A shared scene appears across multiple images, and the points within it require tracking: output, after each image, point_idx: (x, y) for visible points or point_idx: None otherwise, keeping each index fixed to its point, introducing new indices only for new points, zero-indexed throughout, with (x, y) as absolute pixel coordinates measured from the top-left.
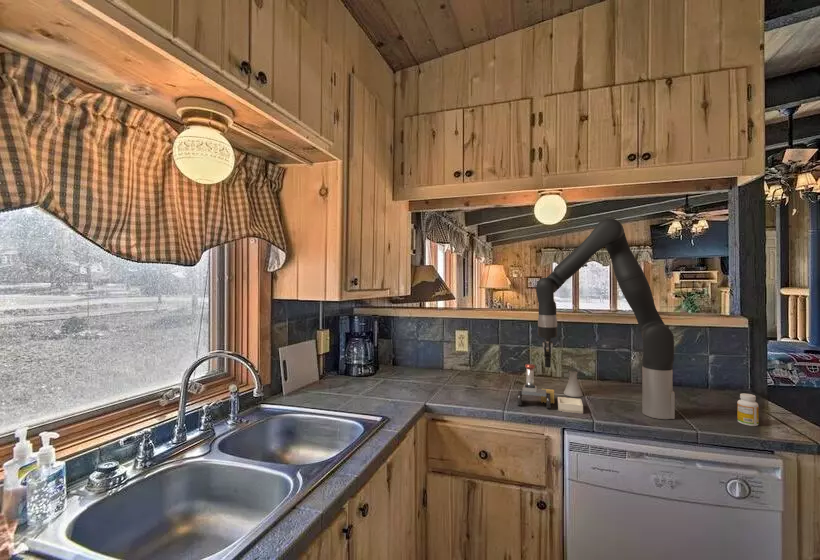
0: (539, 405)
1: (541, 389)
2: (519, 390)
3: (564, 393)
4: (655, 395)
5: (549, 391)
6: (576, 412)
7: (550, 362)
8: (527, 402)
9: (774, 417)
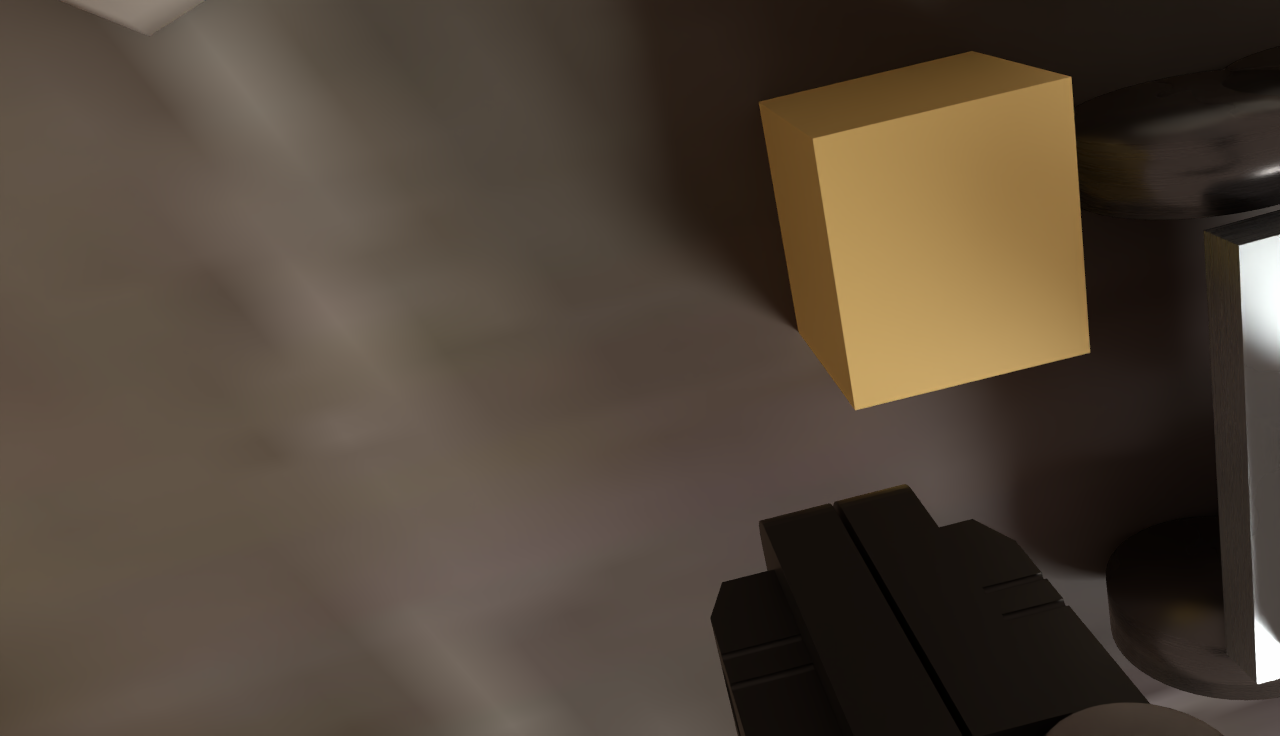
0: (1182, 255)
1: (1265, 335)
2: (1269, 683)
3: (190, 6)
4: None
5: (1001, 199)
6: None
7: (980, 591)
8: (1101, 464)
9: None
